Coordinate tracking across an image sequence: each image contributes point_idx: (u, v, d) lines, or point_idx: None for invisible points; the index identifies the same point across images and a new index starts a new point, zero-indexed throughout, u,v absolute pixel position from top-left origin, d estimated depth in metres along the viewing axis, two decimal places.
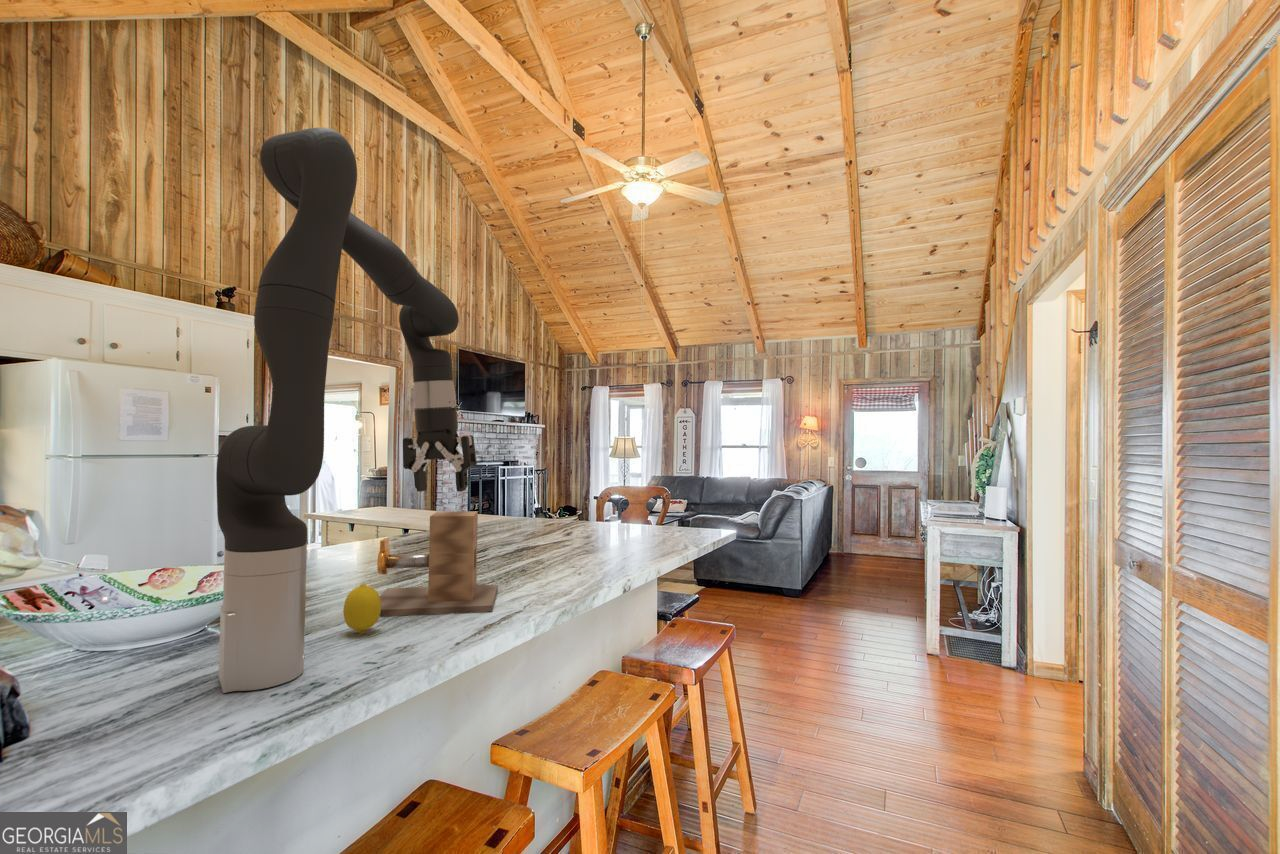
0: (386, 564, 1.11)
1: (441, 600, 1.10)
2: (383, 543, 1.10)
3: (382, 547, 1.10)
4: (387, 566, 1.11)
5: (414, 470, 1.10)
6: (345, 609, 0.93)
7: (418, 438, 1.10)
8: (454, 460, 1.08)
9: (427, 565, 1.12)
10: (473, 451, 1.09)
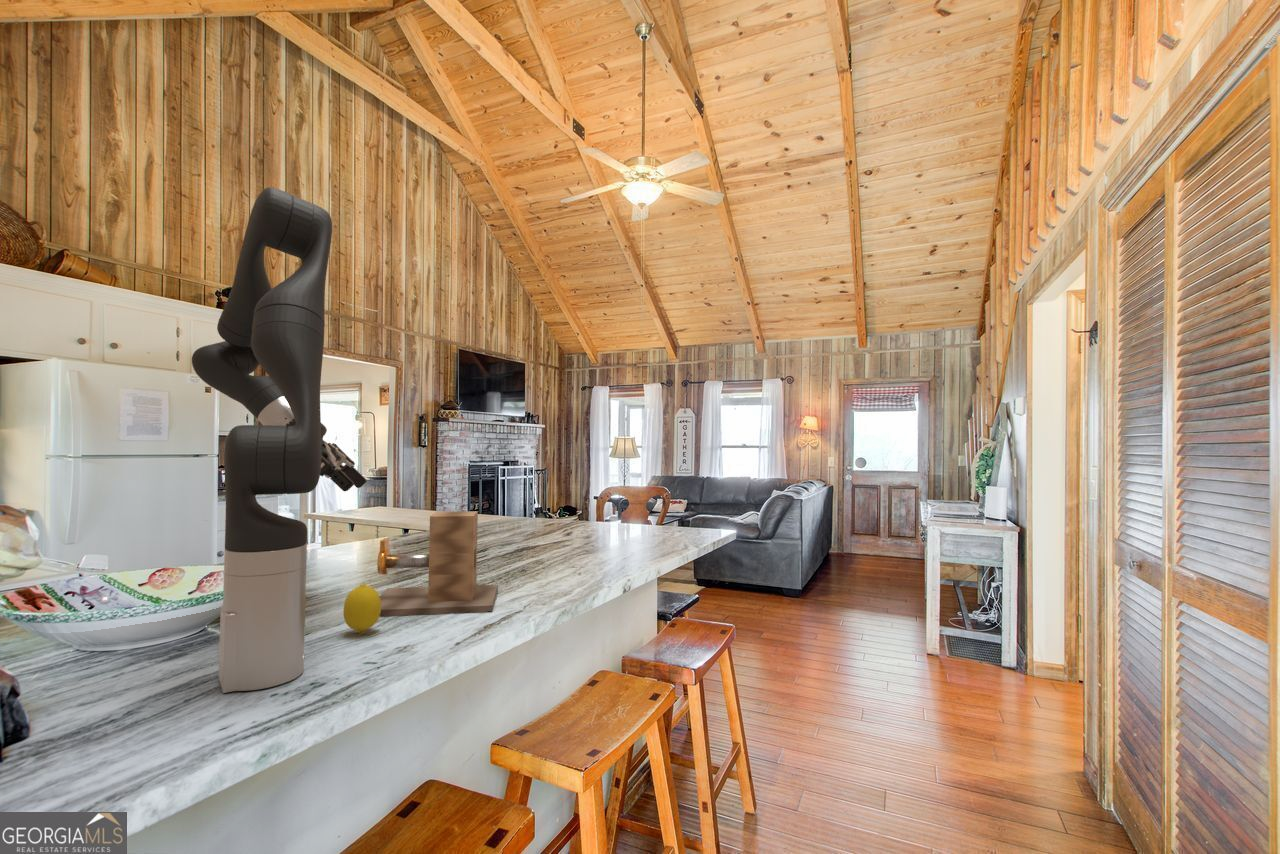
0: (386, 564, 1.11)
1: (441, 600, 1.10)
2: (383, 543, 1.10)
3: (382, 547, 1.10)
4: (387, 566, 1.11)
5: (337, 467, 1.07)
6: (345, 609, 0.93)
7: None
8: (345, 459, 1.15)
9: (427, 565, 1.12)
10: None
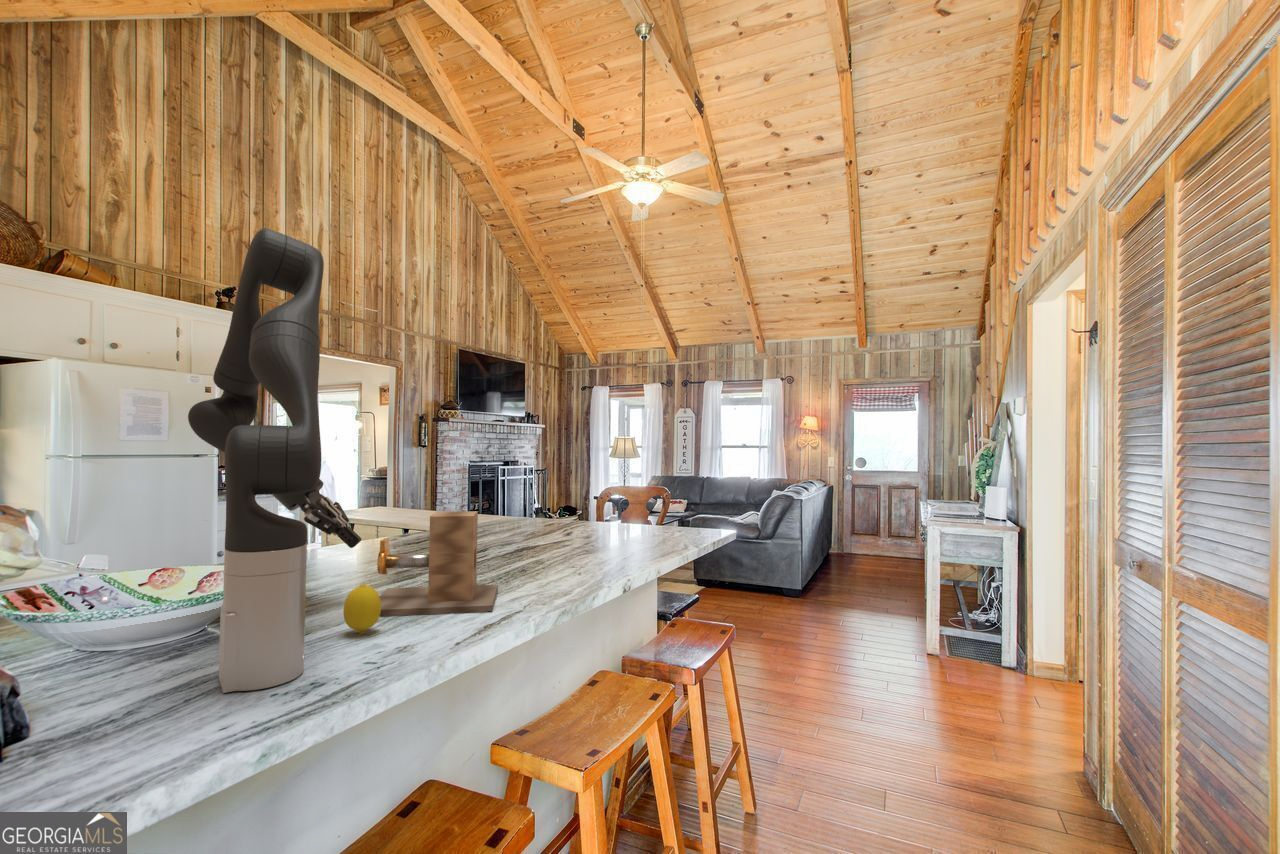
0: (386, 564, 1.11)
1: (441, 600, 1.10)
2: (383, 543, 1.10)
3: (382, 547, 1.10)
4: (387, 566, 1.11)
5: (344, 524, 1.10)
6: (345, 609, 0.93)
7: (311, 502, 1.07)
8: (341, 516, 1.12)
9: (427, 565, 1.12)
10: None
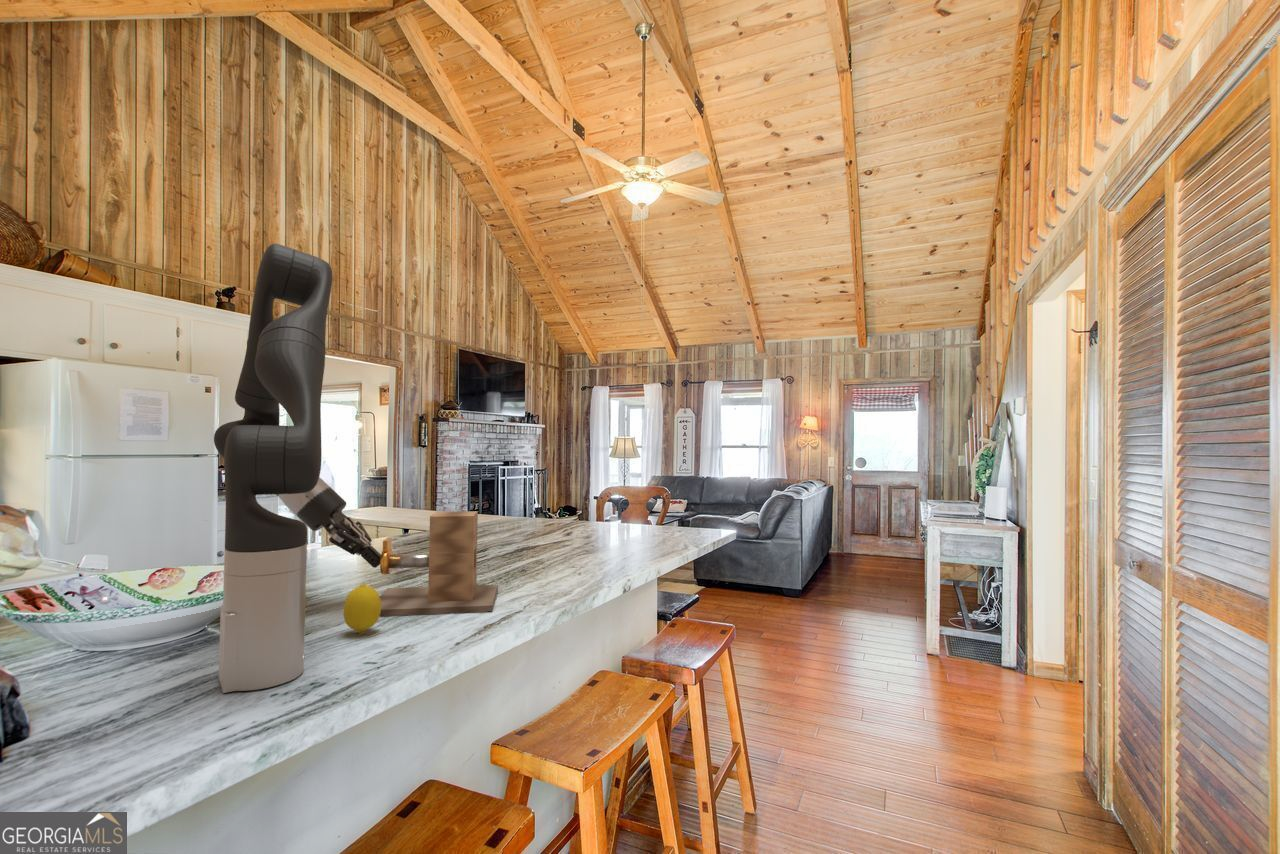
0: (389, 564, 1.11)
1: (441, 600, 1.10)
2: (386, 543, 1.11)
3: (385, 547, 1.11)
4: (390, 566, 1.11)
5: (368, 544, 1.11)
6: (345, 609, 0.93)
7: (335, 522, 1.07)
8: (364, 536, 1.13)
9: None
10: None
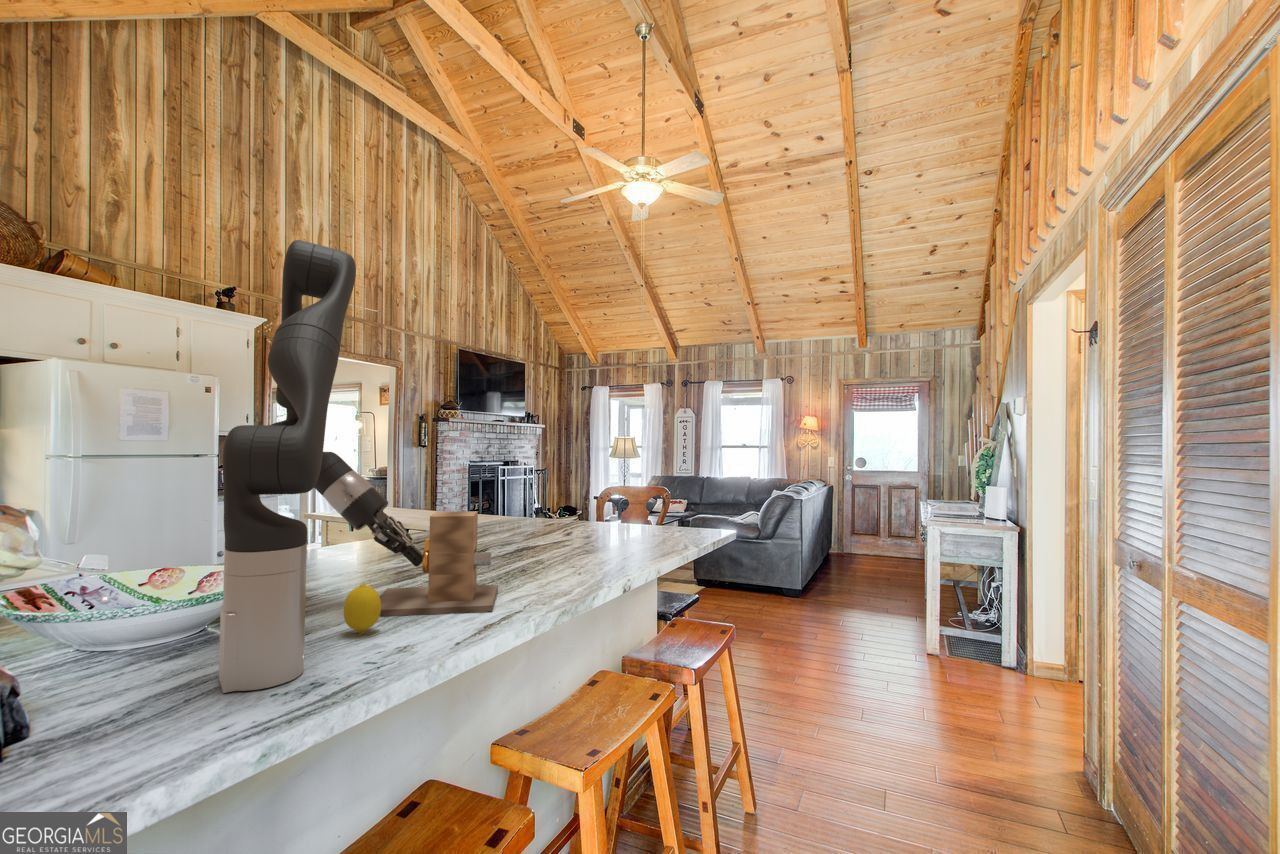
0: None
1: (441, 600, 1.10)
2: (427, 542, 1.12)
3: (426, 546, 1.12)
4: None
5: (410, 543, 1.12)
6: (345, 609, 0.93)
7: (379, 521, 1.08)
8: (405, 535, 1.14)
9: None
10: None
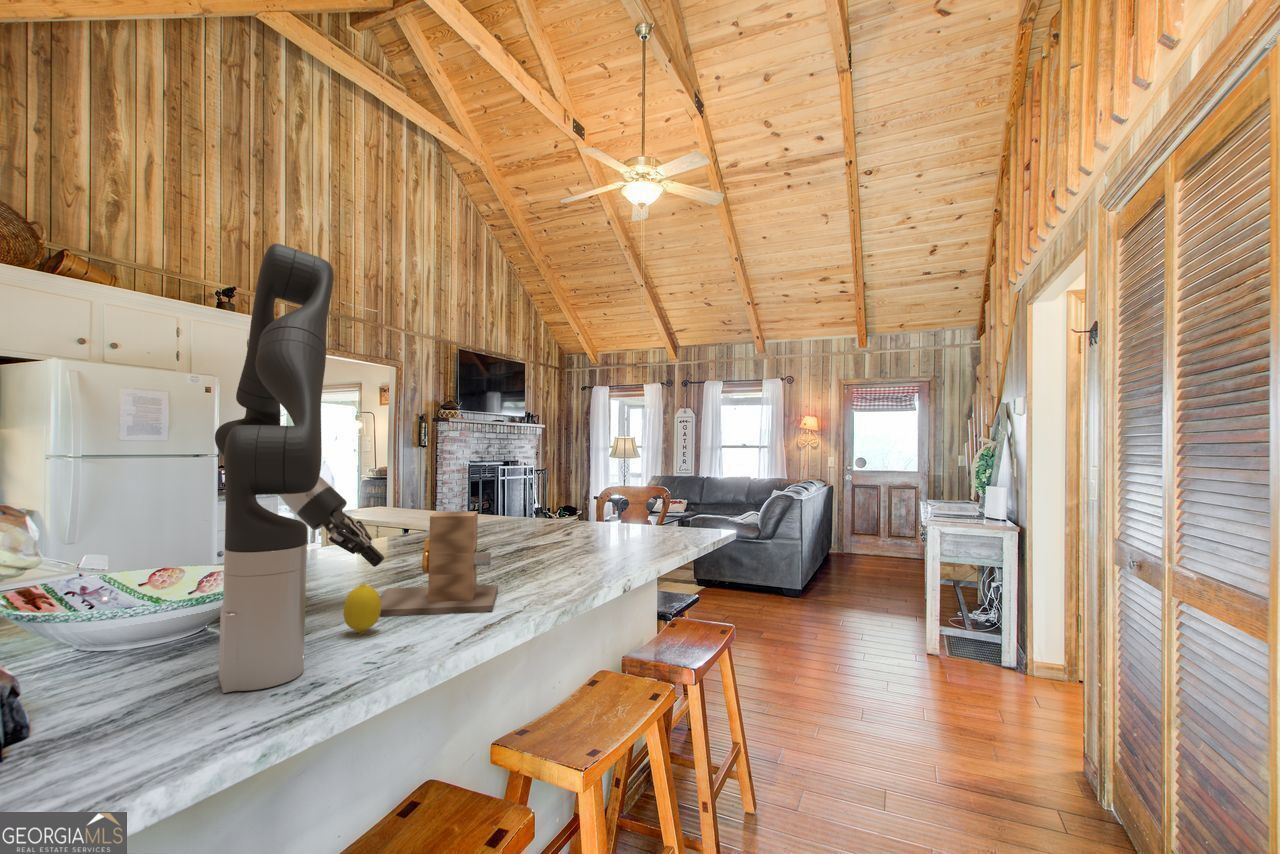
0: None
1: (441, 600, 1.10)
2: (427, 542, 1.12)
3: (426, 546, 1.12)
4: None
5: (368, 543, 1.11)
6: (345, 609, 0.93)
7: (335, 521, 1.07)
8: (364, 535, 1.13)
9: None
10: None
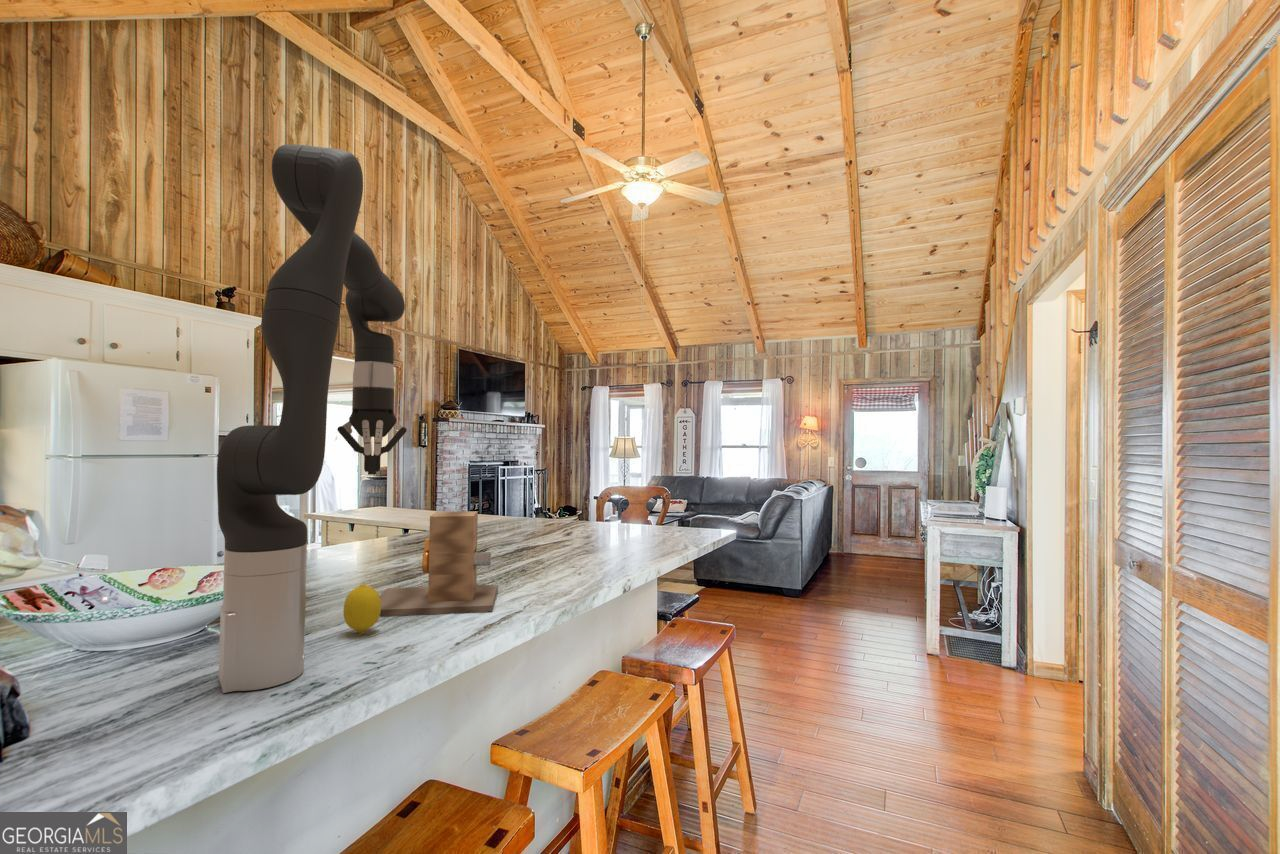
0: None
1: (441, 600, 1.10)
2: (427, 542, 1.12)
3: (426, 546, 1.12)
4: None
5: (367, 453, 1.13)
6: (345, 609, 0.93)
7: (351, 418, 1.12)
8: (379, 444, 1.14)
9: None
10: None
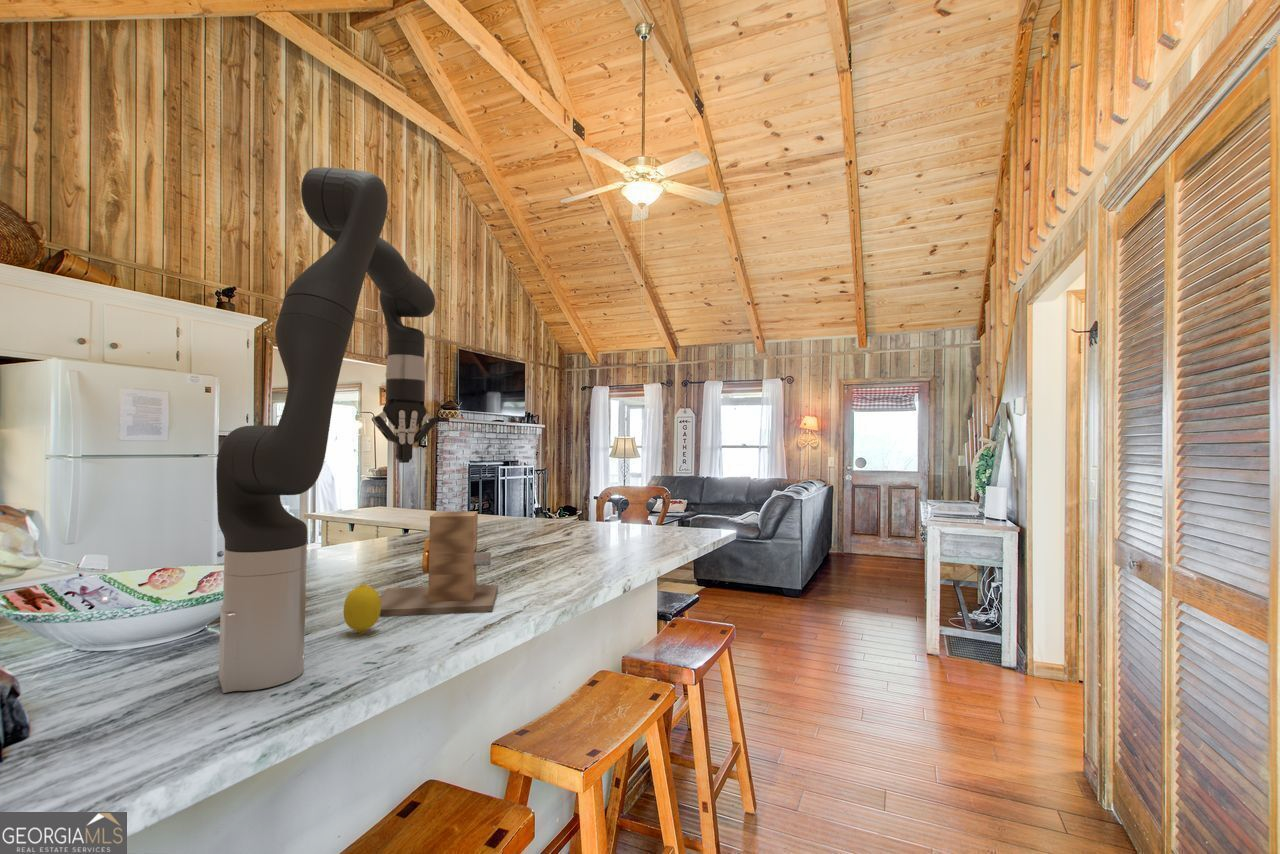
0: None
1: (441, 600, 1.10)
2: (427, 542, 1.12)
3: (426, 546, 1.12)
4: None
5: (402, 442, 1.19)
6: (345, 609, 0.93)
7: (388, 408, 1.17)
8: (413, 433, 1.20)
9: None
10: None
